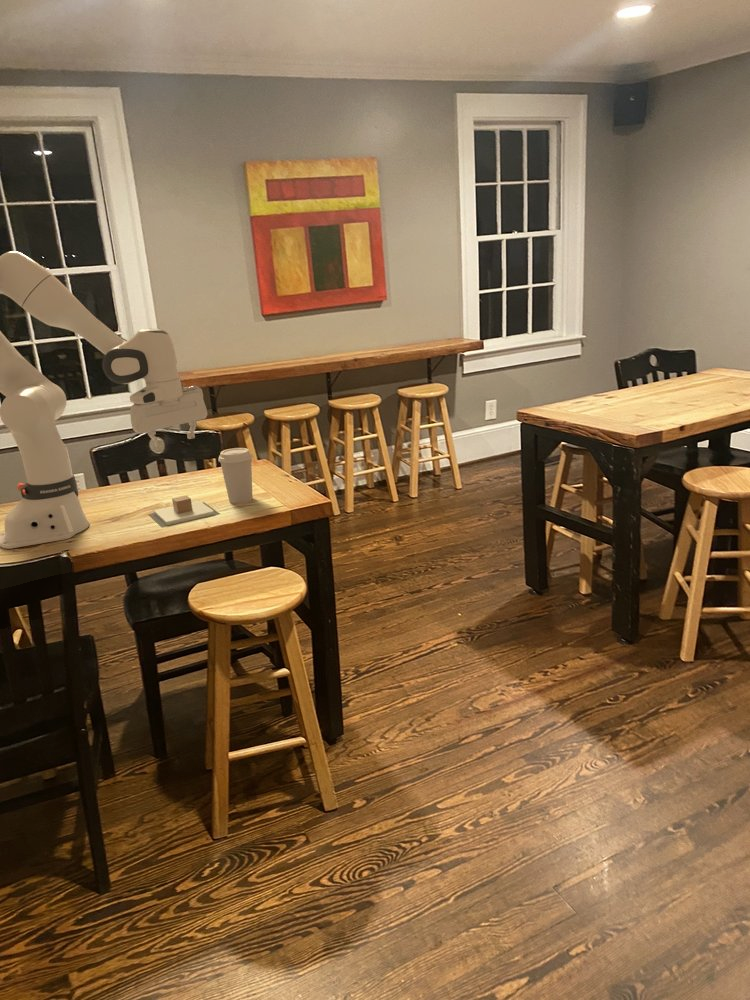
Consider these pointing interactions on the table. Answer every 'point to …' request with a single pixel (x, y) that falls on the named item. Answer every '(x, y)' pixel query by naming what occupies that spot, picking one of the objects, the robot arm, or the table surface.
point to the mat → (180, 522)
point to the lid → (183, 511)
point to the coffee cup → (237, 474)
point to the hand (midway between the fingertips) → (175, 442)
